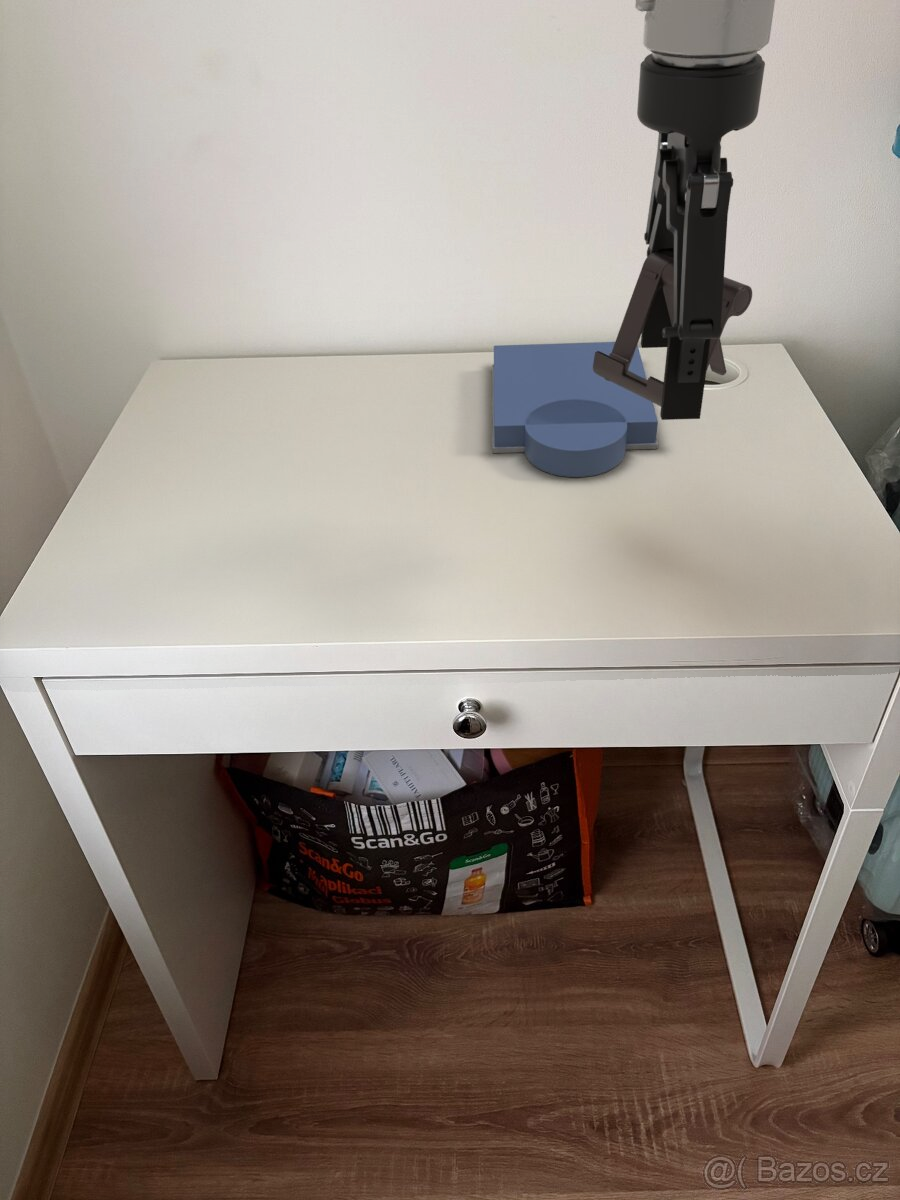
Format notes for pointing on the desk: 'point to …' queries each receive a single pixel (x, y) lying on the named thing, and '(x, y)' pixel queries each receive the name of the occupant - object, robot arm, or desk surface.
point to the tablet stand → (650, 280)
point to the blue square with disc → (567, 409)
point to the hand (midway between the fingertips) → (668, 379)
